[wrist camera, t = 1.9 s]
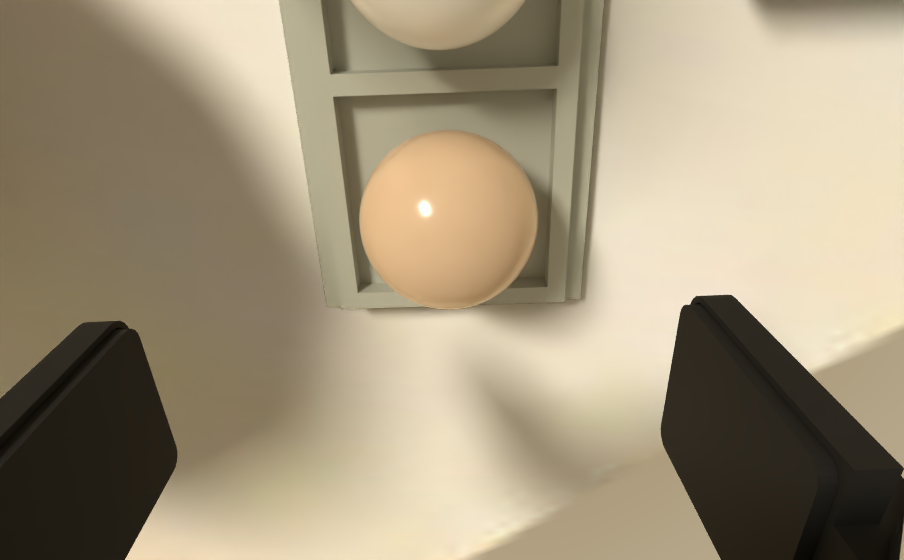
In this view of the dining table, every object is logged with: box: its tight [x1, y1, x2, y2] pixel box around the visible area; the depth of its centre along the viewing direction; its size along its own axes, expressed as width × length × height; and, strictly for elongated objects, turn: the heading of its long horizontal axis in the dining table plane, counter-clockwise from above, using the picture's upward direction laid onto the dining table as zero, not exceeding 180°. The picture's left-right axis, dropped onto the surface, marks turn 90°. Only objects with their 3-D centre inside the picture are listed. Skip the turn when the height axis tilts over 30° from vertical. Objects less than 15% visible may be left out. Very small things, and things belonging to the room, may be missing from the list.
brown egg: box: [359, 130, 538, 309], centre depth 16 cm, size 5×5×5 cm
